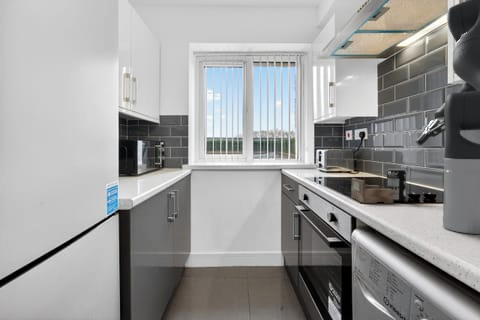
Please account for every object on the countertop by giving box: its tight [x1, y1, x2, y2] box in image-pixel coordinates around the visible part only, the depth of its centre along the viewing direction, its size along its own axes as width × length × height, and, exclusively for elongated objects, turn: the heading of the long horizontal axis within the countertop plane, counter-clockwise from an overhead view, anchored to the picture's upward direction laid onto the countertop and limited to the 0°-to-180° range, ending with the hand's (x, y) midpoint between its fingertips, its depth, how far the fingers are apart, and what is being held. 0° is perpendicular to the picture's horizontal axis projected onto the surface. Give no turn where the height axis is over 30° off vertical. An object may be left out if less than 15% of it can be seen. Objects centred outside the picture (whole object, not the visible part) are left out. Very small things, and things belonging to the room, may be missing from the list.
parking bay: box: [350, 177, 394, 204], centre depth 116 cm, size 11×12×8 cm
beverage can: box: [386, 168, 407, 202], centre depth 116 cm, size 7×7×12 cm
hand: (418, 143), depth 115 cm, fingers closed
